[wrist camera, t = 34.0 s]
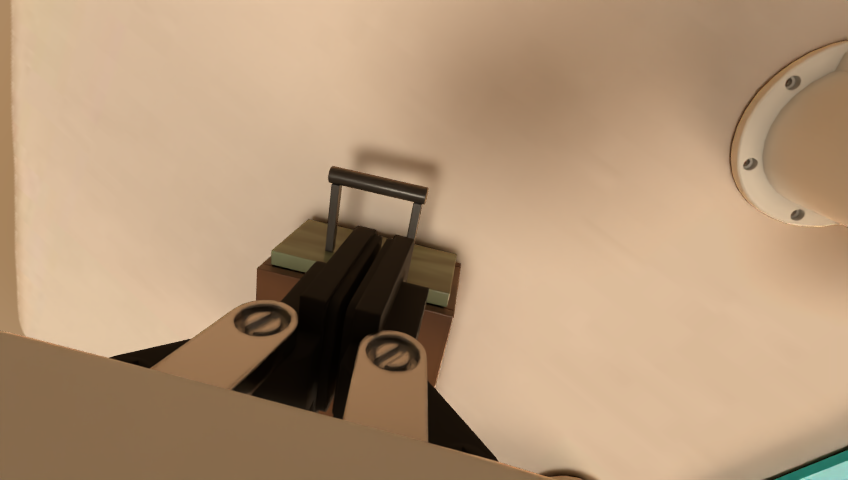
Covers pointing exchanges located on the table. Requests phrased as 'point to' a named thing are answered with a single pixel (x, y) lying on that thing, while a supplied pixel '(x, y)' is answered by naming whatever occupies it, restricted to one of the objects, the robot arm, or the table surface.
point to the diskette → (823, 469)
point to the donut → (565, 478)
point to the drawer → (425, 264)
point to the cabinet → (433, 327)
